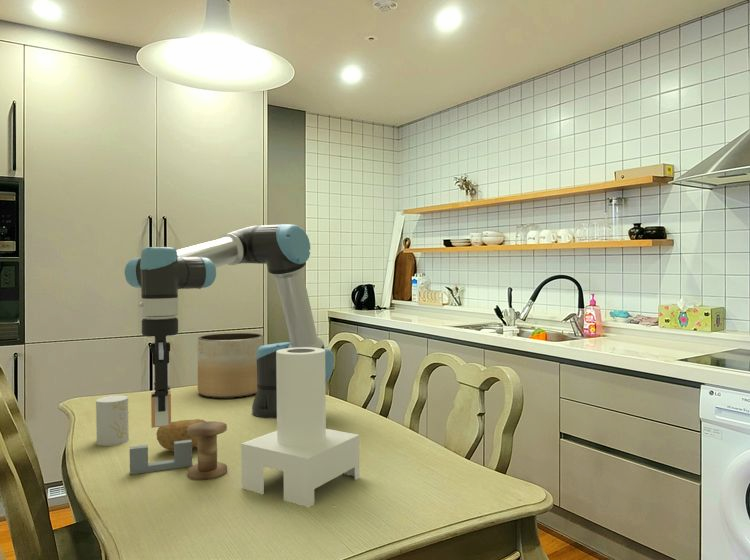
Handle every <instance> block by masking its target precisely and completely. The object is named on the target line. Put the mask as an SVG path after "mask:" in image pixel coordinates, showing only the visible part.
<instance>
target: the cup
mask: <svg viewBox="0 0 750 560" xmlns="http://www.w3.org/2000/svg"><path fill="white" fill-rule="evenodd" d="M95 408H96V409H95V410H96V414H95V415H96V416H95V417H96V419H95V420H96V422H95V423H96V444H97V445H98V446H102V447H103V446H104V447H107V446H108V447H110V446H116V445H117V446H118V445H121V444H125V443H126V442H128V441H129V440H130V439H129V438H130V437H129V436H130V435H129V433H130V431H129V397H128V396H127V395H108V396H103V397H100V398H97V399H96V400H95Z"/></svg>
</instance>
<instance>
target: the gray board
mask: <svg viewBox="0 0 750 560" xmlns="http://www.w3.org/2000/svg"><path fill="white" fill-rule="evenodd" d="M173 456H174V459H171V460H161V461H154V462H149V445H148V444H143V445H135V446H129V475H130V476H131V475H136V474H145V473H151V472H152V473H153V472H160V471H167V470H174V469H181V468H187V467H188V468H190V467H191V466H193V448H192V440H184V441H175V442H174V451H173Z"/></svg>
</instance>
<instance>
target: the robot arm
mask: <svg viewBox="0 0 750 560" xmlns="http://www.w3.org/2000/svg"><path fill="white" fill-rule="evenodd" d="M310 250H311V242H310V239H309V236H308V234H307V233H306V231H305V230H304V229H303V228H302V227H300V226H299V225H297V224H288V223H281V224H265V225H259V224H257V225H252V226H246V227H244V228H241V229H237V230H233V231H230V232H227V233H224V234H222V235H220V237H218V239H215V240H210V241H205V242H202V243H197V244H195V245H190V246H188V247H184V248H180V249H177V248H175V247H168V246H161V247H160V246H154V247H153V246H152V247H151V246H149V247H148V246H147V247H144V248H143V249H142V250H141V254H140V257H134V258H132V259H130V260H129V261H128V262H127V263H126V265H125V267H124V276H125V281H126V282H127V284H129V285H130V286H131V287H133V288H139V289H140V290H141V291H140V292H141V293H140V296H141V302H138V305H137V306H138V307H140V308H141V316H142V317H144V318H143V319H142V320H141V334H142V336H144V337H151V338H152V337H154V342H153V343H152V342H151V343H150V352H151V355H152V356H151V357H152V360H151V361H152V364H153V366H154V383H153V385H154V388H153V389H154V392H155V394H152V397H155V427H154V428H157V427H156V426H165V425H168V391H171V386H169V383H168V382H169V381H168V379H169V378H168V374H169V373H168V372H169V371H168V365H169V363H170V352H171V344H170V342H167V337H169V336H170V337H171V336H175V335H177V334H179V319H178V317H177V316H178V315H179V294H178V292H179V291H178V290H187V289H190V290H192V289H193V290H194V289H199V290H201V289H204V288H209V287H210V286H211V285H213V283H214V282H215V280H216V278H217V268H219V267H221V266H225V265H227V266H236V265H238V264H239V265H240V264H259V265H261V264H263V265H264V264H266V267H267V272H268V274H270V275H272V276H273V277H274V278H275V283H276V286H277V291H278V295H279V299H280V303H281V307H282V313H283V316H284V320H285V324H286V328H287V332H288V333H287V334H288V337H289V340H290V341H287V342H286V341H285V342H277V343H270V344H268V343H267V344H265V345H264V344H263V346H260V347H259V348H258V350H257V358H256V360H257V392H256V394H255V396H254V399H253V402H252V406H251V414H252V415H253V416H256V417H260V418H277V378H276V351H277V350H280V349H285V348H296V347H313V348H322V349H325V384H326V383H327V382H328V381H329V380H330V378H331V376H332V373H333V370H334V368H335V367H334V366H335V365H334V364H335V355H334V352H333V351H332V350H331V349H329V348H325V345H324V341H323V339H322V338H319V337H318V334H317V331H316V330H317V329H316V326H315V322H314V321H315V320H314V317H313V312H312V307H311V303H310V297H309V294H308V290H307V289H308V288H307V285H306V280H305V277H304V276H305V275H304V271H303V270H304V269H305V267H307V261H308V260H309V259H310V256H311V252H310Z"/></svg>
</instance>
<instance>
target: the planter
mask: <svg viewBox="0 0 750 560" xmlns="http://www.w3.org/2000/svg"><path fill="white" fill-rule="evenodd" d="M263 345H264V335H263V334H262V333H255V332H224V333H221V332H220V333H211V334H204V335H201V336H198V337H197V392H198V393H199V394H200V395H202V396H204V397H207V398H210V397H212V399H235V398H234V397H239V398H244V397H243V396H246V397H249V396H248V395H250V396H254V395H256V392H257V360H256V358H257V350H258V348H259V347H260V346H263ZM253 394H254V395H253Z"/></svg>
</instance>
